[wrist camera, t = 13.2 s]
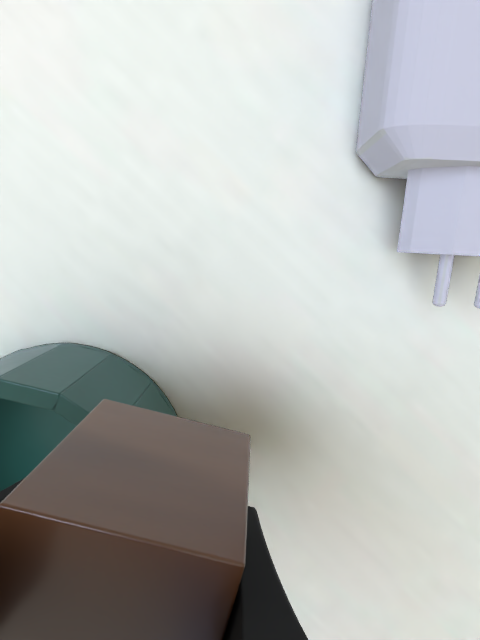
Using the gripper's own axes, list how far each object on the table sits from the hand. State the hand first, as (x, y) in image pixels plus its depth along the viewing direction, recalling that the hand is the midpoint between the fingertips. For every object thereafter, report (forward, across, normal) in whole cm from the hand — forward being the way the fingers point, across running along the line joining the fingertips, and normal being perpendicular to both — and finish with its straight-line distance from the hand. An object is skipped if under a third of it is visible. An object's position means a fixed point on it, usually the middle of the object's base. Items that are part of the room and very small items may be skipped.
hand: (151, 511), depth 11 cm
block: (+1, 0, 0) cm, 1 cm away
